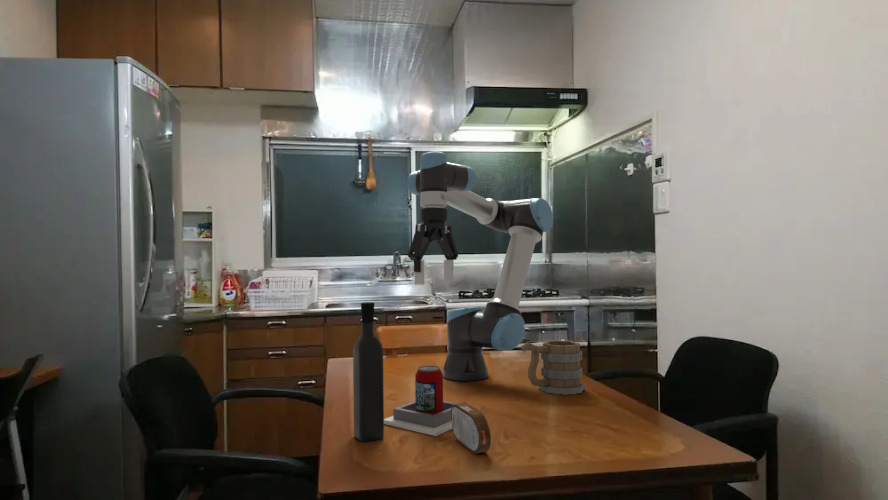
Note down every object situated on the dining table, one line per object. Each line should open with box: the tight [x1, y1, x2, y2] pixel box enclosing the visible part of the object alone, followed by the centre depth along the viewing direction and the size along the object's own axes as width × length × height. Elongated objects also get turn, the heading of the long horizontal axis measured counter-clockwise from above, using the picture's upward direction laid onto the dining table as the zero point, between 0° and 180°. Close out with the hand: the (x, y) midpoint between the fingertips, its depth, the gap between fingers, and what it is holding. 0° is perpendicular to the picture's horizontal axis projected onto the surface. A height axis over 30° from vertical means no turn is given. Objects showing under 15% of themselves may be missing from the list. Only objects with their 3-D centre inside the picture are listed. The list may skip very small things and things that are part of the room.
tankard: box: [520, 340, 586, 396], centre depth 159 cm, size 20×13×15 cm, turn 108°
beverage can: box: [414, 365, 444, 415], centre depth 131 cm, size 7×7×12 cm
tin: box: [451, 401, 492, 455], centre depth 113 cm, size 15×3×8 cm, turn 22°
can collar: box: [384, 400, 459, 437], centre depth 131 cm, size 16×16×4 cm
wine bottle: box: [352, 301, 385, 443], centre depth 120 cm, size 6×6×30 cm
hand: (434, 283), depth 150 cm, fingers open, 13 cm apart
